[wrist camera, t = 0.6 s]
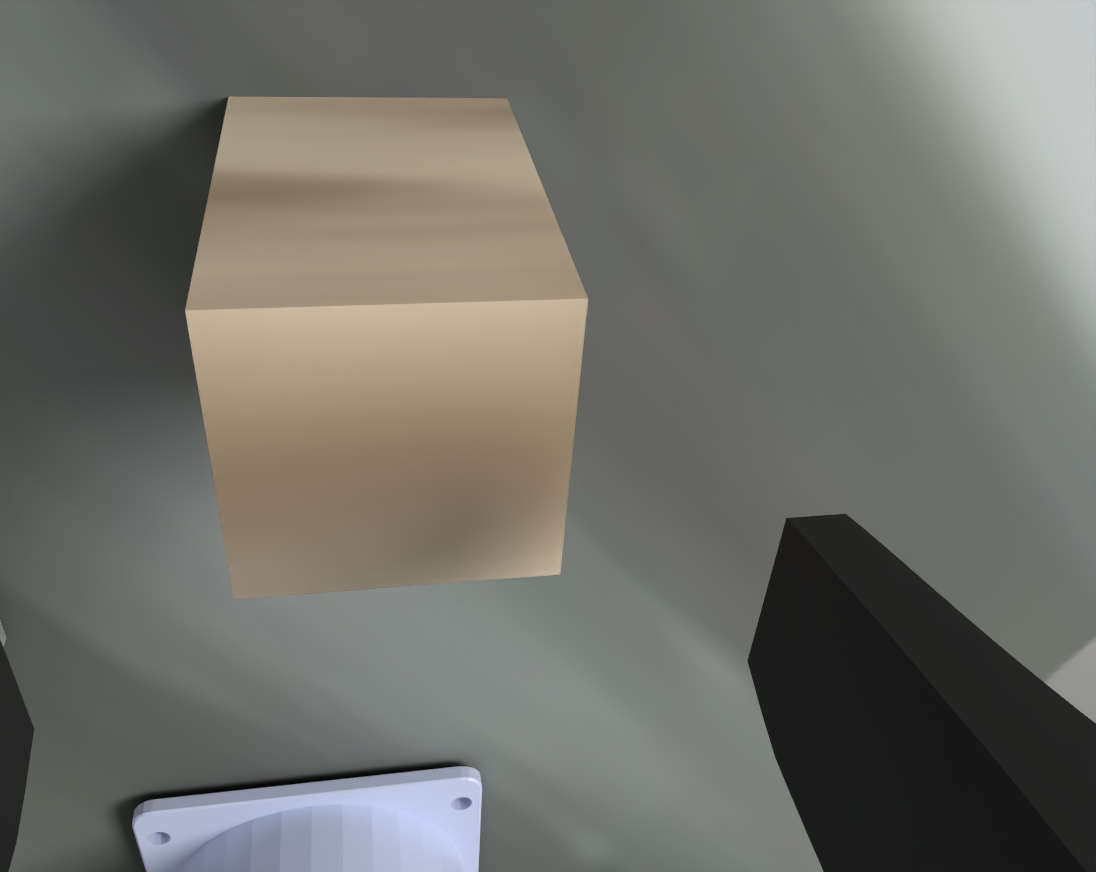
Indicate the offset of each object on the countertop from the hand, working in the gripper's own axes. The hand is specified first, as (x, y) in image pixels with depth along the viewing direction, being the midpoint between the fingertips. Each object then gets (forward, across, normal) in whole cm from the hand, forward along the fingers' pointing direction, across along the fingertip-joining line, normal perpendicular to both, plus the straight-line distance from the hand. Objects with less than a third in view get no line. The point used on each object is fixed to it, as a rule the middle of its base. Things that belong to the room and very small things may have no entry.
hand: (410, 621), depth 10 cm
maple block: (+8, 0, 0) cm, 8 cm away
